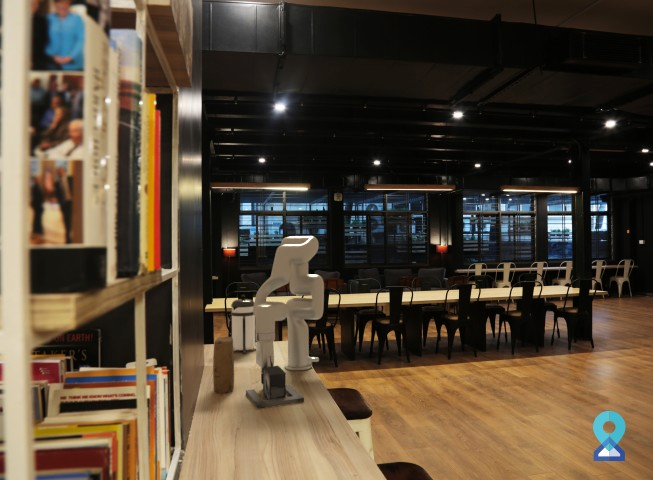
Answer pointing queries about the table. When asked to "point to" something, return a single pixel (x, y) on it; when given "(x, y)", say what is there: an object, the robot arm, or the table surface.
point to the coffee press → (243, 324)
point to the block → (223, 365)
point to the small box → (274, 382)
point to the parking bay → (259, 403)
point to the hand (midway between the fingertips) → (265, 383)
